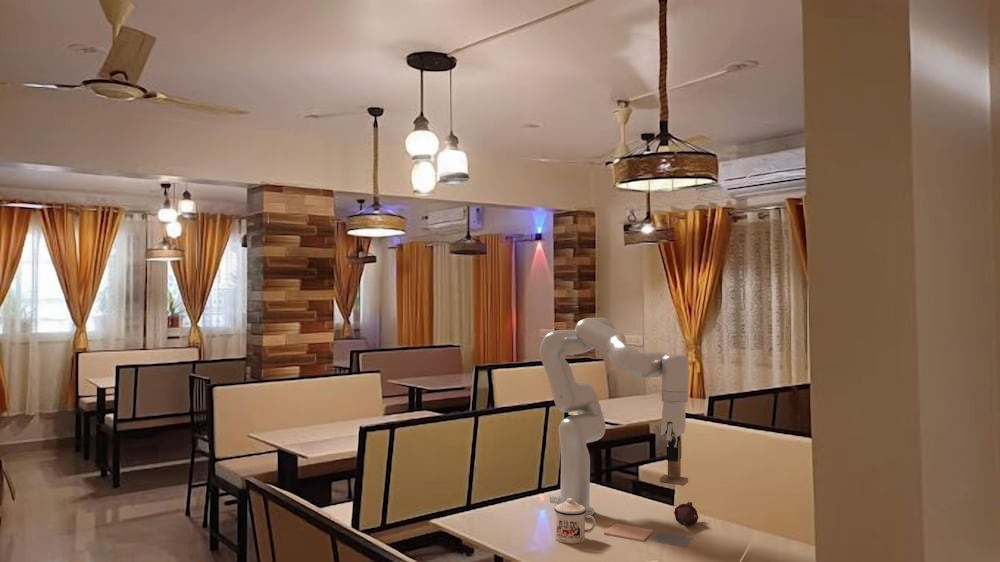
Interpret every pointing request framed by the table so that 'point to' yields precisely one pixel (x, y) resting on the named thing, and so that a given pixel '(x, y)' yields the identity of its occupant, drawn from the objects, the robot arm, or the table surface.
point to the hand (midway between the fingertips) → (674, 459)
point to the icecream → (686, 514)
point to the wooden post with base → (675, 471)
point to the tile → (628, 532)
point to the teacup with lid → (571, 522)
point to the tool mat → (672, 539)
